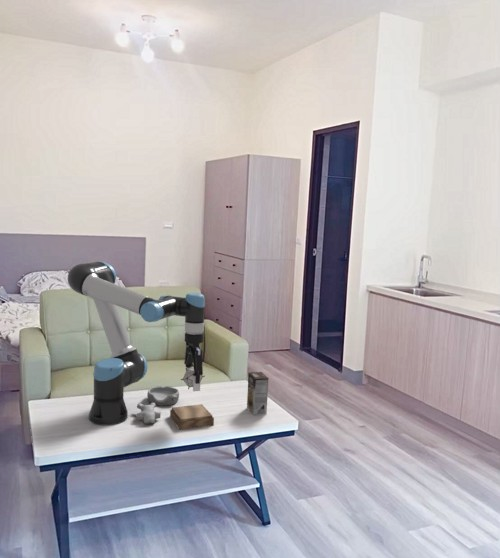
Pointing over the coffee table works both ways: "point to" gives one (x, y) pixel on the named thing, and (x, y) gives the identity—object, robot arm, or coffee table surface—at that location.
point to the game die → (189, 377)
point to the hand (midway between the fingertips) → (192, 386)
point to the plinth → (191, 416)
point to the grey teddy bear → (148, 413)
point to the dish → (163, 395)
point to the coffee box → (257, 393)
